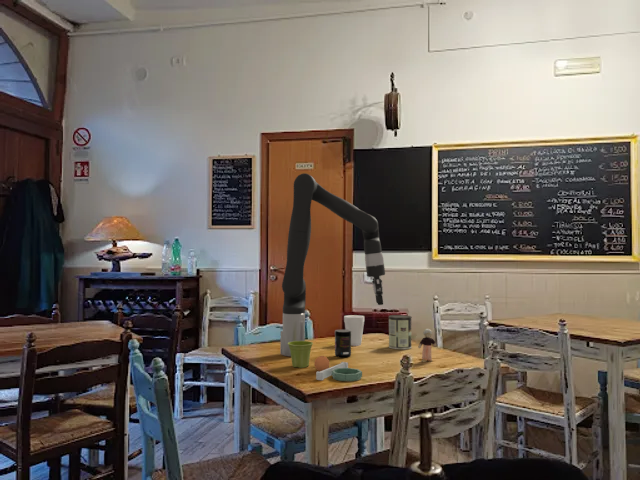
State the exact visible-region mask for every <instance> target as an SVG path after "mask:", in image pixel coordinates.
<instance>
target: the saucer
mask: <svg viewBox="0 0 640 480" xmlns="http://www.w3.org/2000/svg"><path fill="white" fill-rule="evenodd" d="M331 376H332V379H333V380H335V381H339V382H357V381H360V380H361V379H362V377H363V371H362V370H361V369H359V368H351V367H348V368H337V369H335V370H332V375H331Z"/></svg>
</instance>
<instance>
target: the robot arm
mask: <svg viewBox="0 0 640 480" xmlns="http://www.w3.org/2000/svg"><path fill="white" fill-rule="evenodd" d="M312 201H314V202H316V203H318V204H320V205H322V206H323V207H325V208H326V209H328V210H329V211H331V212H332V213H334V214H335V215H337V216H338V217H340V218H341V219H343V220H344V221H346V222H348V223H350V224H353V225H354V226H355V227H357V228H358V229H360V230H361V231H362V237H363V248H364V249H363V250H364V262H365V270H366V271H365V272H366V276H367V278H372V281H371V284H372V288H373V292H374V294H375V301H376V304H377V305H378V306H383V305H384V301H383V300H384V299H383V294H384V291H383V290H384V289H383V280H382V279H381V278H380V277H381V276H385V275H386V270H385V269H386V267H385V262H384V256H383V252H382V250H383V249H382V245H381V240H380V232H379V231H380V230H379V222H378V220H377V219H376V217H375V216H373V215H371V214H369V213H368V212H366V211H363V210H361V209H359V207H357V206H355V205H354V204H353V203H350V202H349V201H348V200H346V199H344V198H342V197H339V196H337V195H335V194H333V193H331V192H330V191H328V190H327V189H325V188H324V187H323V186H322V185H320V184H319V183H318V182H317V181H316V179H315V178H314V177H313V176H312V175H310V174H309V173H301V174H299V175H297V176H296V177H295V179H294V181H293V202H292V211H291V214H290V221H289V226H288V227H289V228H288V230H289V231H288V235H287V246H286V247H287V248H286V265H285V270H284V274H283V275H284V276H283V279H282V282H281V288H282V292H283V305H282V330H281V331H280V348H279V349H280V351H279V352H280V355H281V356H285V357H291V352H290V348H289V345H288V343H289V342H293V341H306V335H305V334H306V331H305V330H306V329H305V325H306V300H307V299H306V295H307V293H306V292H307V291H306V290H307V285H306V281H305V279H304V270H305V269H304V268H305V267H304V266H305V262H306V258H307V255H308V251H309V247H310V243H311V236H312V235H311V233H312V214H311V206H312Z"/></svg>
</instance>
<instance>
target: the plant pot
mask: <svg viewBox="0 0 640 480" xmlns="http://www.w3.org/2000/svg"><path fill="white" fill-rule="evenodd" d="M288 345H289V348H290V352H291V356H290V357H291V367H293V368H300V369H302V368H303V369H304V368H307V367H309V364H310V359H311V351H312V348H313V347H312V346H313V345H314V343H313V342H312V341H309V340H305V341H293V342H289V343H288Z"/></svg>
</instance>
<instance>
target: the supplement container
mask: <svg viewBox="0 0 640 480" xmlns="http://www.w3.org/2000/svg"><path fill="white" fill-rule="evenodd" d="M334 355H335V357H336V358H341V359H342V358H343V359H344V358H350V357H351V355H352V346H351V330H346V329H335V330H334Z"/></svg>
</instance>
